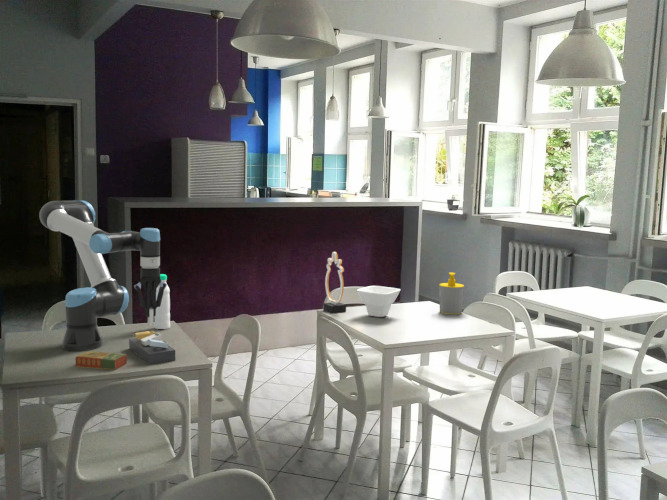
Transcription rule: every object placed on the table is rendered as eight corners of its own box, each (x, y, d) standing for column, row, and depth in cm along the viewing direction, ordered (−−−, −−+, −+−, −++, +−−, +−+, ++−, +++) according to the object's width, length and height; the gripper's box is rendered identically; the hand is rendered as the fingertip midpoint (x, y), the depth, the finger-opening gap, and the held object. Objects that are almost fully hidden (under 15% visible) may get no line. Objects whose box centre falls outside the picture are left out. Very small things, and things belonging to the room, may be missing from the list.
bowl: (402, 315, 319) (403, 288, 318) (385, 322, 303) (386, 294, 301) (371, 310, 329) (371, 285, 327) (352, 317, 313) (353, 290, 311)
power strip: (149, 364, 229) (149, 351, 229) (123, 344, 256) (123, 332, 255) (175, 360, 235) (175, 347, 234) (147, 340, 262) (147, 329, 261)
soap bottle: (437, 313, 324) (439, 274, 322) (438, 308, 337) (440, 270, 334) (462, 315, 321) (464, 275, 319) (463, 310, 334) (464, 271, 331)
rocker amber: (138, 339, 244) (137, 335, 244) (135, 337, 247) (134, 332, 247) (155, 336, 248) (155, 332, 248) (152, 334, 251) (152, 330, 251)
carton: (88, 361, 233) (88, 350, 233) (127, 364, 230) (127, 353, 230) (75, 367, 225) (75, 356, 224) (115, 371, 222) (115, 359, 221)
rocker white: (145, 345, 238) (143, 341, 238) (141, 343, 241) (140, 339, 241) (162, 338, 242) (160, 334, 241) (158, 336, 245) (157, 332, 245)
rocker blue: (150, 345, 232) (151, 340, 232) (146, 343, 235) (147, 338, 235) (167, 348, 236) (168, 343, 236) (164, 345, 239) (165, 340, 239)
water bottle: (172, 326, 287) (171, 273, 284) (167, 330, 280) (166, 276, 277) (157, 326, 288) (157, 273, 285) (152, 329, 281) (151, 275, 278)
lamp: (350, 313, 322) (351, 253, 319) (335, 314, 318) (336, 253, 314) (333, 307, 336) (334, 249, 333) (319, 308, 332) (320, 250, 328)
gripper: (136, 269, 239) (137, 328, 242) (169, 267, 247) (169, 324, 249) (131, 266, 245) (131, 324, 248) (163, 264, 253) (163, 320, 256)
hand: (150, 324), depth 249 cm, fingers closed
